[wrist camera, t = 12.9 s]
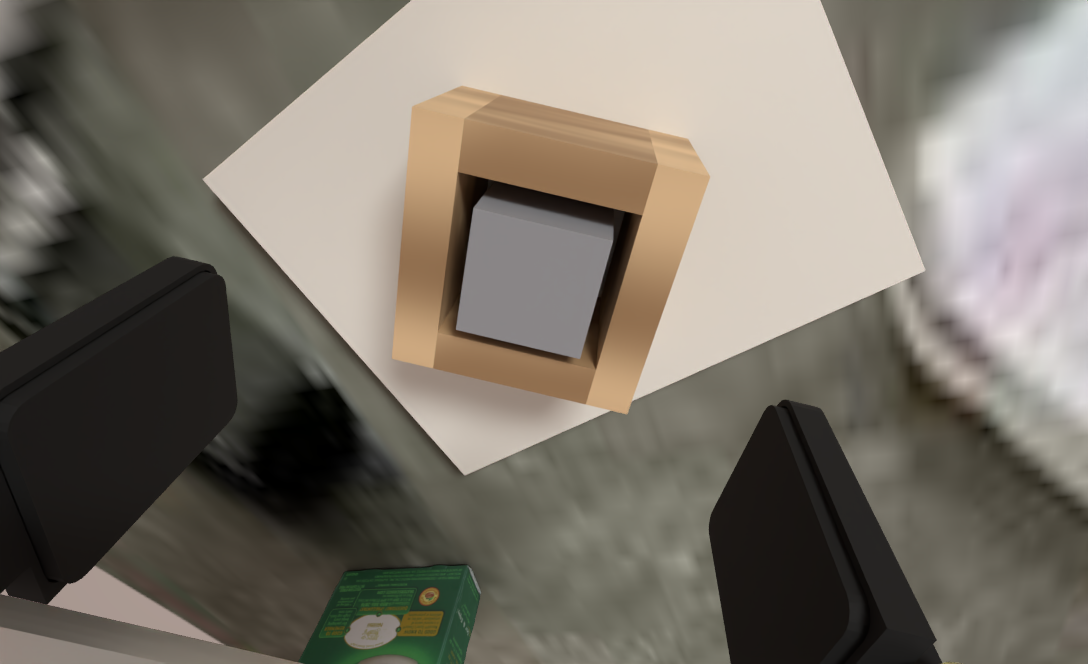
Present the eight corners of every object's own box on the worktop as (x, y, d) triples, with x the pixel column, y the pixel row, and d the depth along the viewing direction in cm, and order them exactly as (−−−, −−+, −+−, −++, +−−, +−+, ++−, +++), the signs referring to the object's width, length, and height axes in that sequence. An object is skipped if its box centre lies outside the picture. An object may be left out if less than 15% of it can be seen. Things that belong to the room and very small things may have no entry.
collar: (462, 85, 18) (412, 106, 14) (688, 138, 18) (710, 176, 14) (437, 290, 22) (391, 358, 17) (625, 335, 22) (627, 414, 17)
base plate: (709, -238, 15) (771, -417, 9) (905, 254, 20) (1027, 354, 14) (227, 170, 22) (76, 227, 16) (471, 453, 27) (430, 577, 21)
